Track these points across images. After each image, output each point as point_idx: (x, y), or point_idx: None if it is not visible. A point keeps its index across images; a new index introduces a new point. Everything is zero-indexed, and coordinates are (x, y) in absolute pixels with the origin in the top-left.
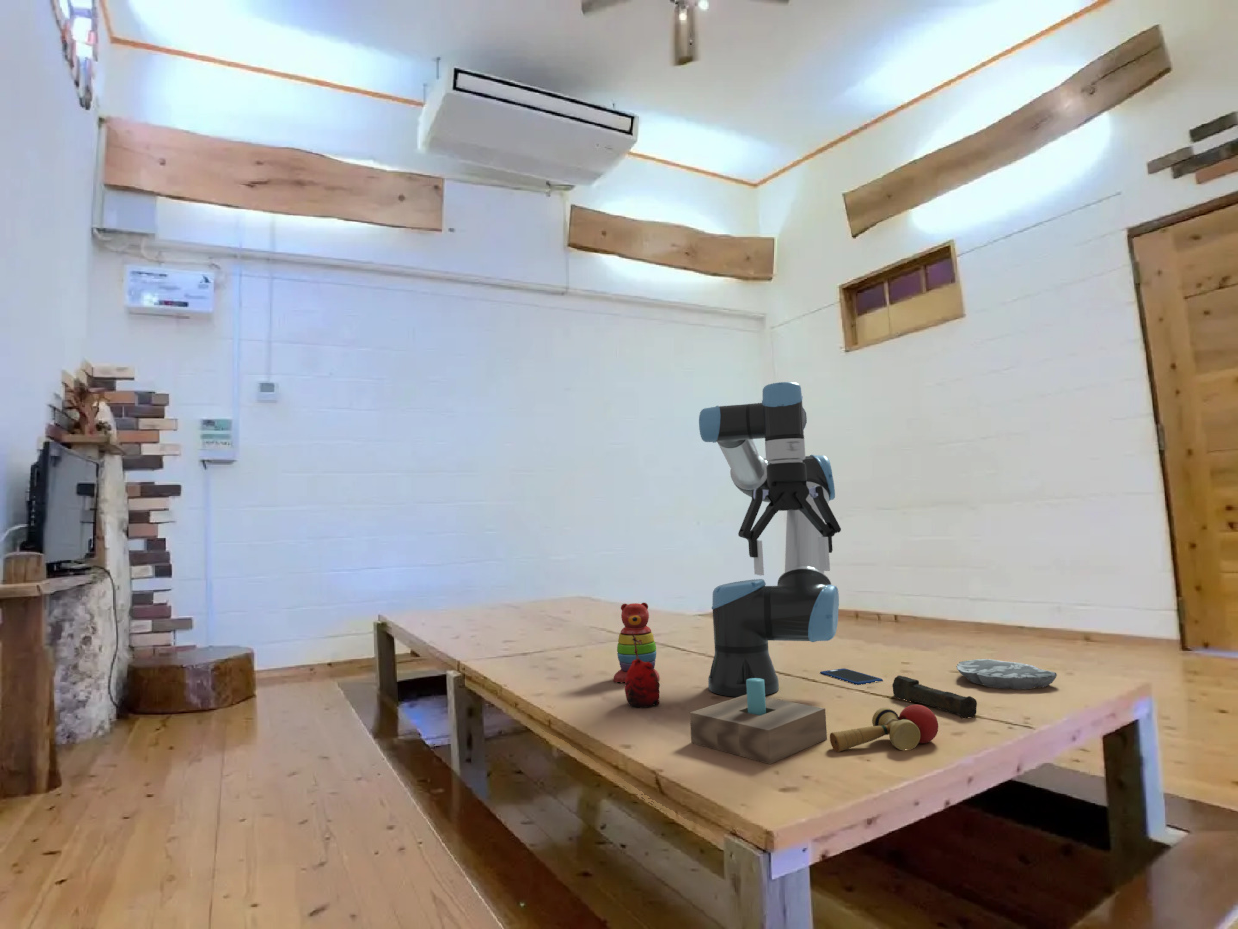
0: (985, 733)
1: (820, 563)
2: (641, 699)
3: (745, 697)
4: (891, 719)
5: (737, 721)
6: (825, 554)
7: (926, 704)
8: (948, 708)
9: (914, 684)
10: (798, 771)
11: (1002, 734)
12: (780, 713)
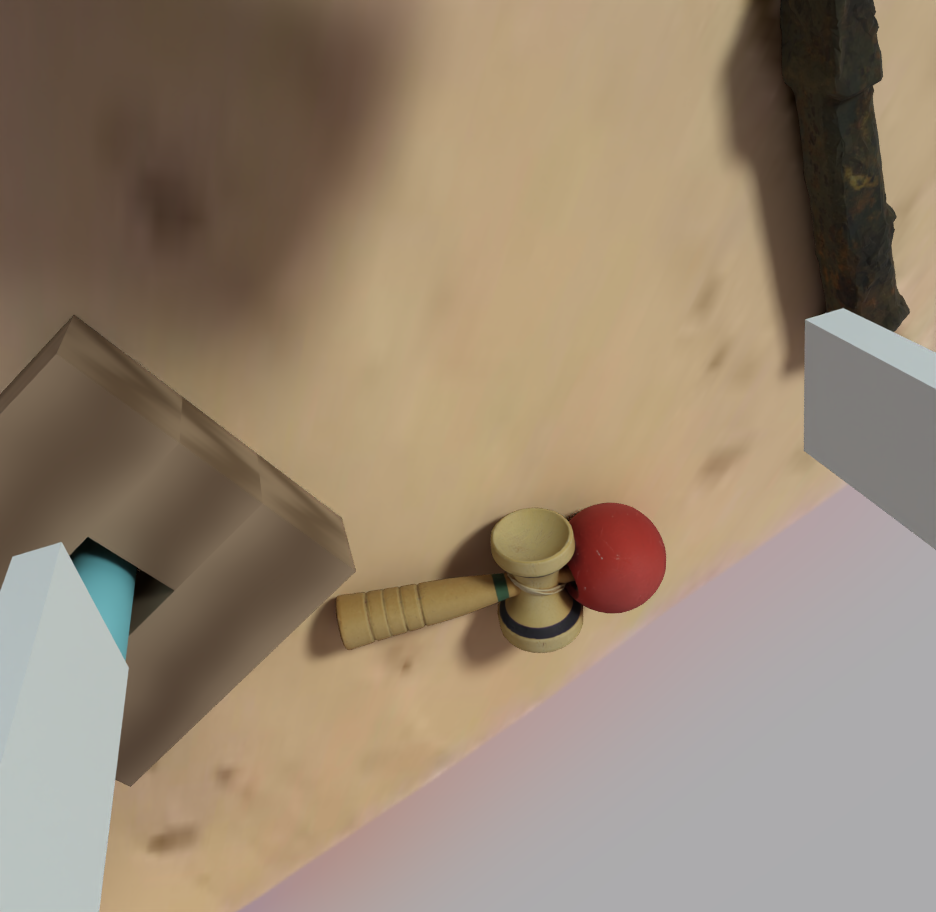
0: (785, 463)
1: (851, 372)
2: None
3: (44, 417)
4: (537, 592)
5: None
6: (923, 537)
7: (804, 174)
8: (824, 275)
9: (848, 99)
10: (210, 749)
11: (817, 471)
12: (186, 630)
